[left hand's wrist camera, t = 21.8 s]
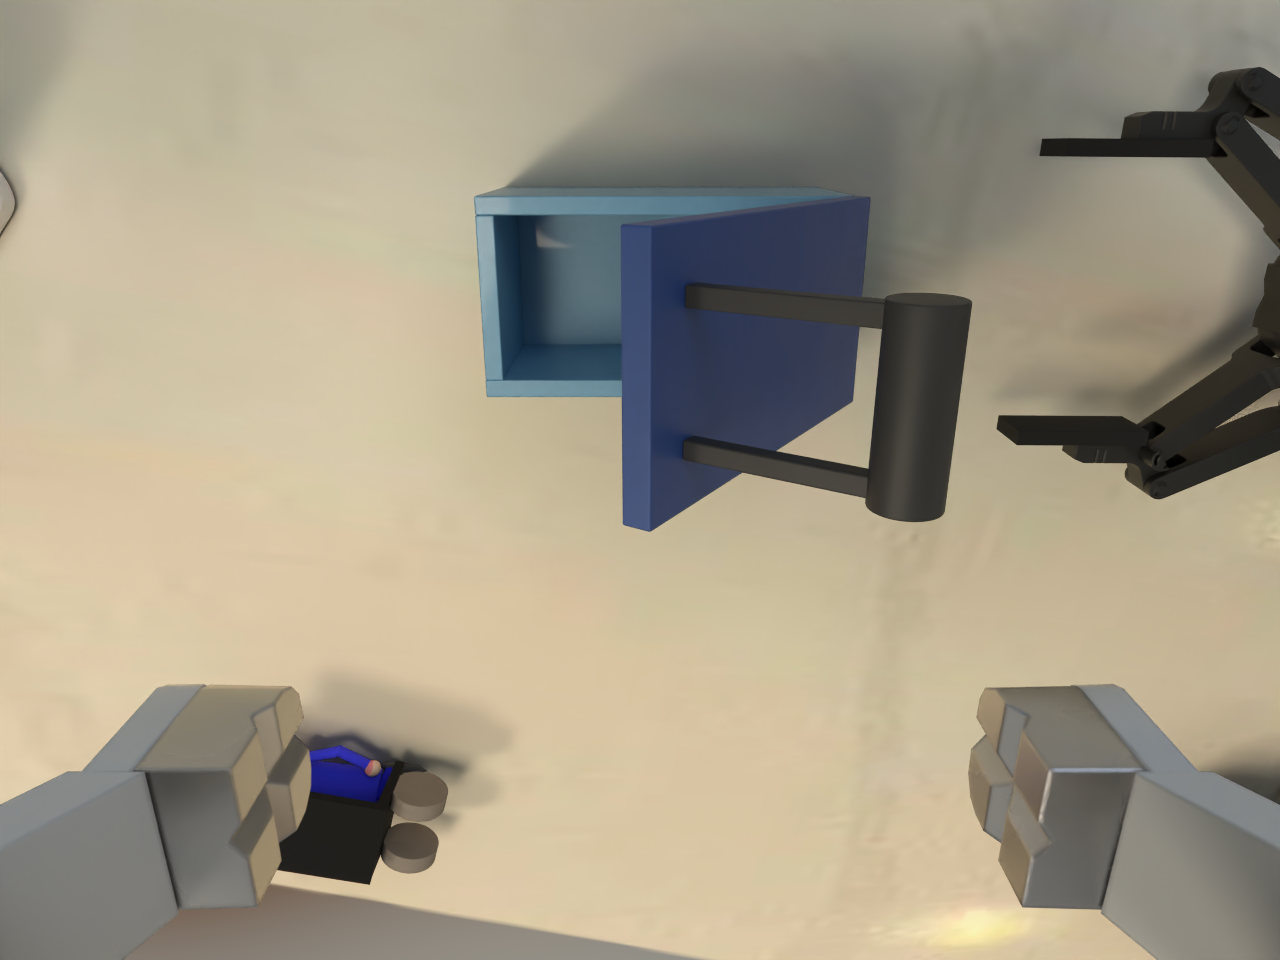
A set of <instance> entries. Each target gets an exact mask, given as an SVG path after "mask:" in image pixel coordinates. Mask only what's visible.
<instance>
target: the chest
mask: <svg viewBox="0 0 1280 960" xmlns="http://www.w3.org/2000/svg"><path fill="white" fill-rule="evenodd" d="M846 196H854V195H849V194H845V193H840V192H836V191H831V190H827V189H823V188H819V187H504V188H501V189H497V190H494V191H491V192H487V193H484V194H480V195H477V196H475V197H474V202H475V214H476V215H477V216H476V217H475V219H476V234H477V250H478V265H479V281H480V297H481V312H482V328H483V344H484V359H485V375H486V391H487V397H622V349H621V225H622V224H626V223H635V222H643V221H651V220H659V219H667V218H675V217H683V216H692V215H700V214H708V213H716V212H724V211H732V210H740V209H749V208H757V207H765V206H773V205H781V204H789V203H797V202H806V201H814V200H822V199H830V198H838V197H846Z"/></svg>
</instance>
